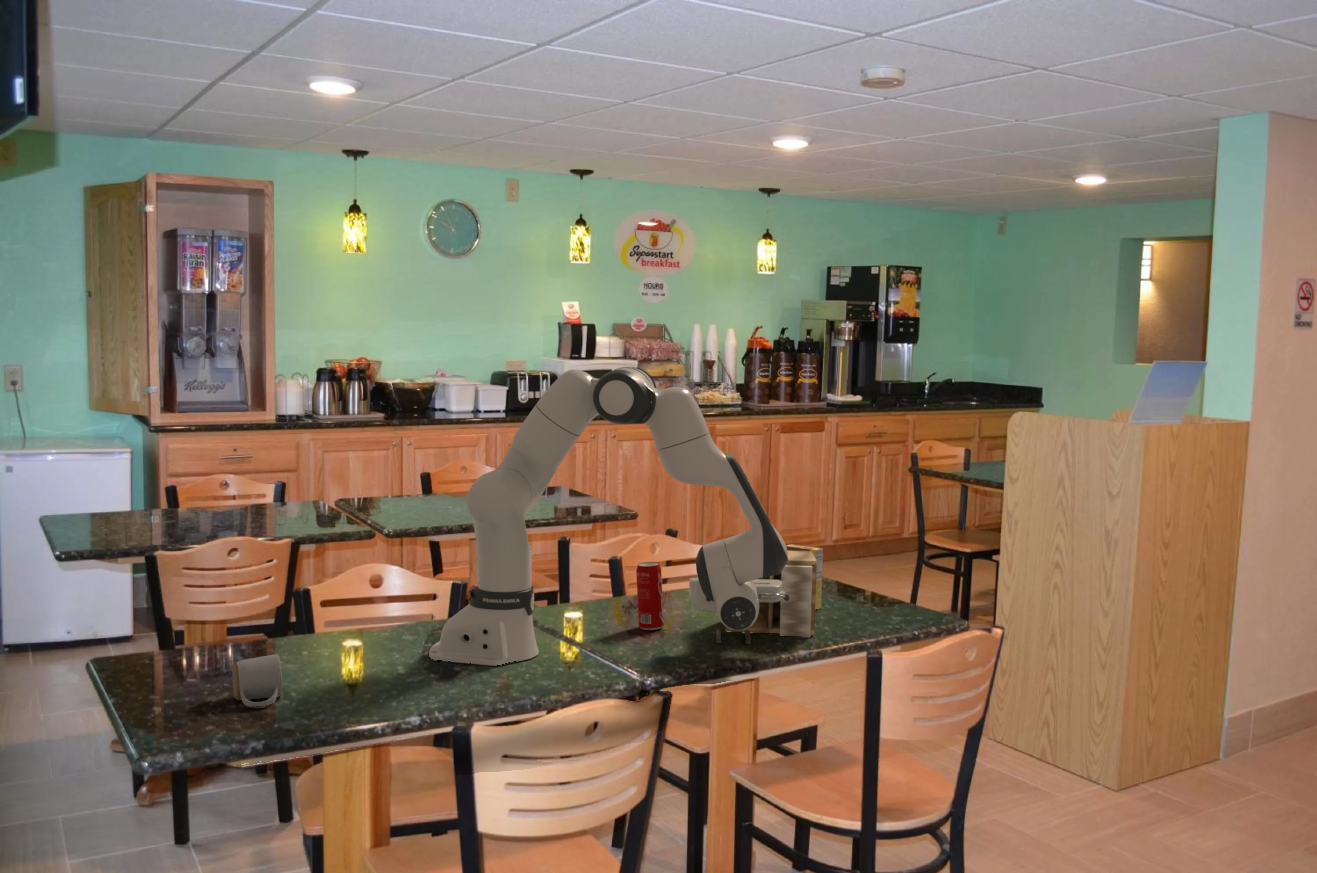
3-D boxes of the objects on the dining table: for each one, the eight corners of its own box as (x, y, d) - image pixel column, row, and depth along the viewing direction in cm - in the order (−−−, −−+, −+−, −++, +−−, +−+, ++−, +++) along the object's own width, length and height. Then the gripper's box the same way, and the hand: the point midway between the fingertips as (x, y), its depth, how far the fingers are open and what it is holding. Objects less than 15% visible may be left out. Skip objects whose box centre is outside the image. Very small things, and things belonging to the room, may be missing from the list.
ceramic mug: (231, 695, 203) (230, 653, 203) (278, 689, 207) (278, 649, 206) (236, 713, 194) (236, 670, 193) (286, 707, 198) (285, 665, 197)
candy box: (782, 606, 281) (784, 545, 280) (790, 603, 284) (792, 543, 283) (814, 611, 276) (816, 549, 275) (822, 608, 279) (823, 547, 278)
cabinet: (716, 643, 244) (717, 567, 243) (715, 619, 266) (717, 548, 264) (818, 646, 243) (820, 569, 242) (809, 622, 265) (811, 551, 263)
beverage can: (663, 631, 254) (664, 566, 253) (634, 630, 254) (635, 565, 253) (663, 624, 260) (665, 561, 259) (635, 624, 260) (636, 560, 259)
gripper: (786, 581, 233) (782, 568, 247) (688, 579, 234) (689, 567, 248) (786, 611, 233) (781, 597, 247) (688, 609, 234) (689, 595, 248)
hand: (735, 582), depth 247 cm, fingers closed on door, 3 cm apart
